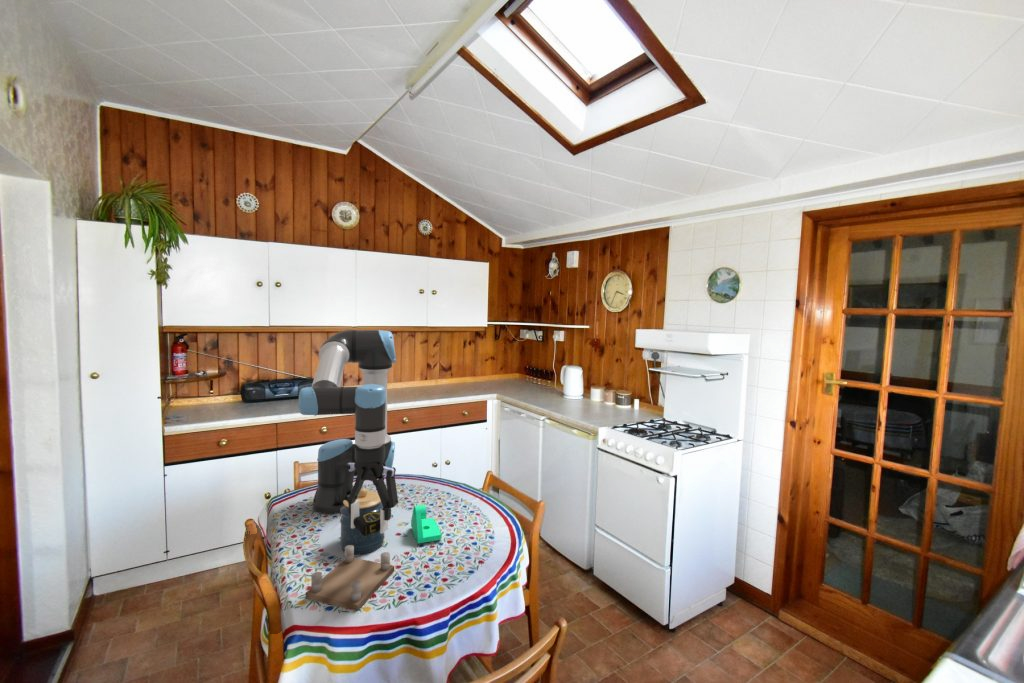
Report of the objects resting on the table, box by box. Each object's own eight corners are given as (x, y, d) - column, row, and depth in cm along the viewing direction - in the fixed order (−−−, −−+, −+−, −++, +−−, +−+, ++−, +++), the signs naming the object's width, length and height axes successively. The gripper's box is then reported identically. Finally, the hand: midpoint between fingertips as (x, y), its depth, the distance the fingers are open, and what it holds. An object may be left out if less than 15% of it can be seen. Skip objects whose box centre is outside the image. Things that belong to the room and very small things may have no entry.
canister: (372, 529, 146) (372, 477, 144) (392, 544, 136) (392, 489, 135) (333, 542, 136) (333, 487, 135) (351, 560, 127) (351, 501, 126)
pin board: (305, 598, 110) (305, 577, 110) (347, 561, 127) (347, 543, 126) (357, 611, 107) (357, 589, 106) (394, 571, 123) (394, 552, 123)
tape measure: (352, 529, 117) (352, 515, 116) (377, 521, 121) (377, 508, 121) (361, 540, 111) (361, 526, 111) (387, 532, 116) (387, 518, 115)
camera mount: (442, 542, 139) (442, 510, 138) (418, 546, 136) (418, 514, 135) (433, 524, 150) (434, 495, 149) (411, 528, 147) (411, 498, 146)
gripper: (326, 444, 114) (326, 529, 116) (399, 453, 109) (398, 542, 111) (343, 436, 121) (343, 516, 123) (413, 444, 116) (411, 527, 118)
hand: (369, 528), depth 117 cm, fingers closed on tape measure, 8 cm apart
